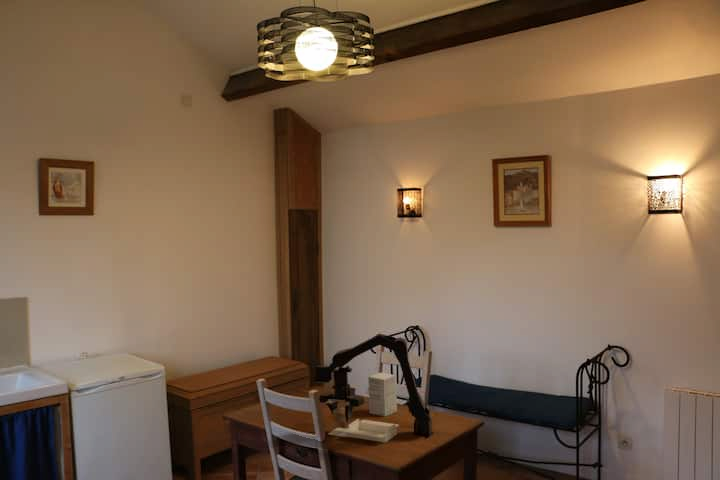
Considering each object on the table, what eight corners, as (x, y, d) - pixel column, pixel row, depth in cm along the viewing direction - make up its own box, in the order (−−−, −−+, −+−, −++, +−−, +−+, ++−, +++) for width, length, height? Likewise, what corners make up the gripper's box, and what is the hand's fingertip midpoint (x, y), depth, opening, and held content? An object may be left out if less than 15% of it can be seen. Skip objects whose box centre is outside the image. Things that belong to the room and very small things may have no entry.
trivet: (357, 431, 250) (357, 430, 250) (346, 438, 242) (346, 437, 242) (338, 428, 254) (338, 427, 254) (327, 435, 246) (327, 433, 246)
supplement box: (381, 408, 281) (380, 372, 281) (397, 411, 276) (396, 374, 275) (368, 413, 274) (367, 376, 274) (385, 416, 268) (383, 379, 268)
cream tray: (399, 433, 246) (399, 421, 246) (382, 446, 232) (381, 433, 232) (362, 427, 255) (362, 415, 254) (343, 440, 240) (343, 427, 240)
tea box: (350, 424, 249) (350, 407, 249) (344, 428, 245) (343, 411, 244) (340, 423, 252) (339, 406, 251) (333, 426, 247) (333, 409, 247)
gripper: (370, 379, 250) (371, 417, 251) (331, 376, 259) (332, 412, 260) (357, 386, 241) (358, 425, 241) (317, 382, 249) (318, 419, 250)
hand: (342, 420), depth 248 cm, fingers closed on tea box, 5 cm apart
